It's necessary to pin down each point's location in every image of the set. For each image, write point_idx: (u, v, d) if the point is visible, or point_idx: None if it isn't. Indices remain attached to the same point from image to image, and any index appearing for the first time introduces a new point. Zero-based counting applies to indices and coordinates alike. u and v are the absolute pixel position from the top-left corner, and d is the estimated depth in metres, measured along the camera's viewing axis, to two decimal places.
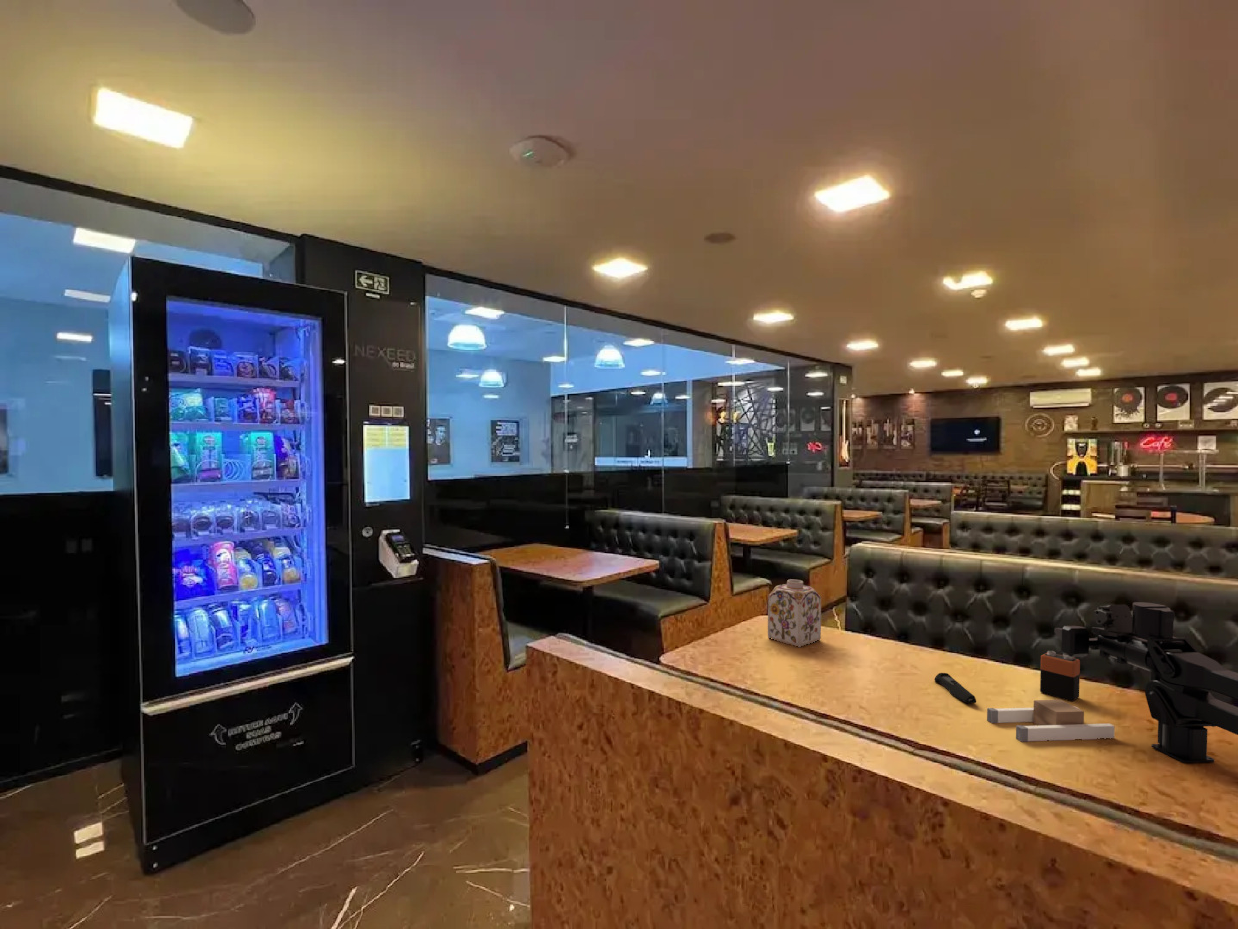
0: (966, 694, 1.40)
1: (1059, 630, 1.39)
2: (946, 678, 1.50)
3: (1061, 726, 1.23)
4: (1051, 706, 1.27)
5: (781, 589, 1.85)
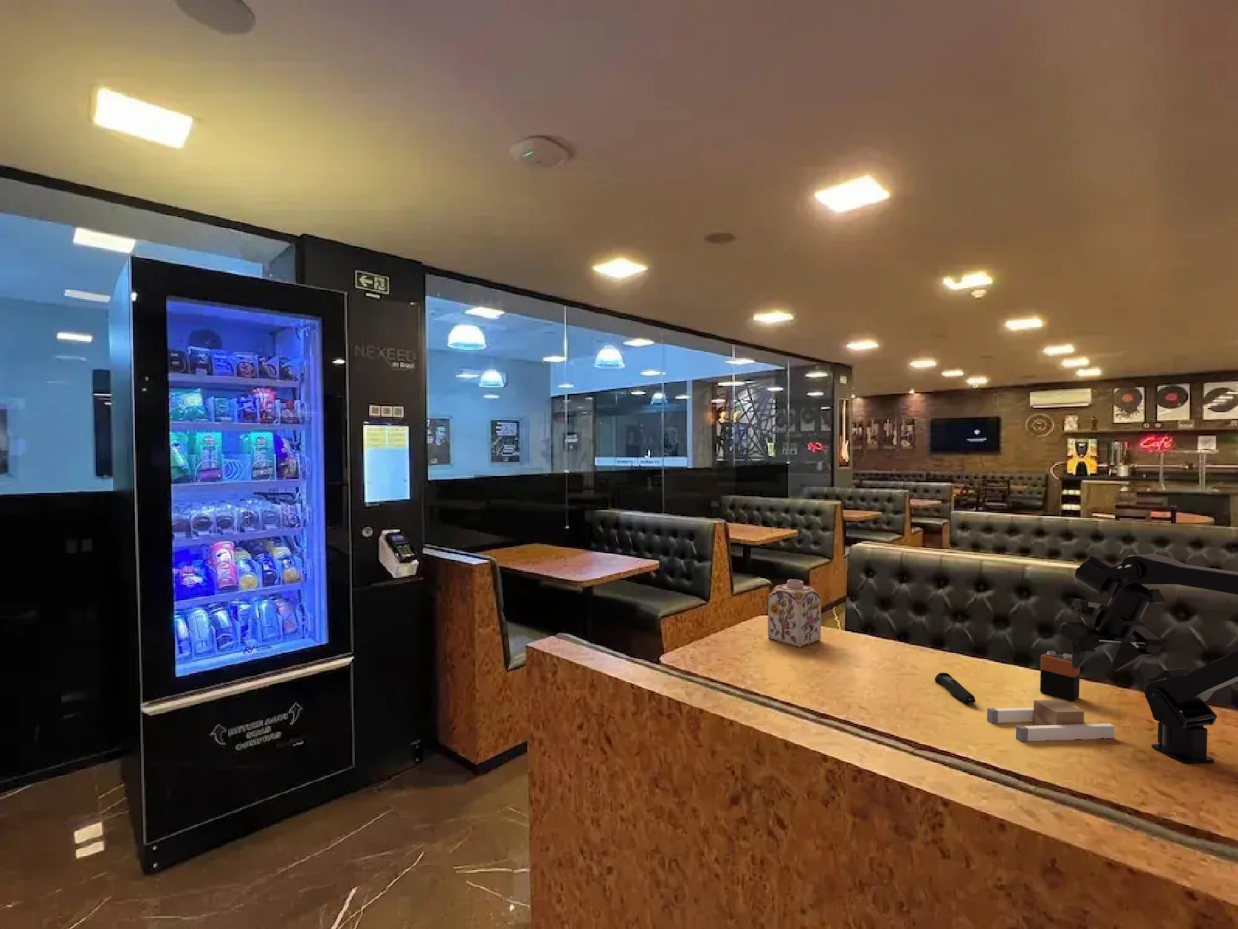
0: (965, 694, 1.40)
1: (1073, 657, 1.32)
2: (946, 678, 1.50)
3: (1061, 726, 1.23)
4: (1051, 706, 1.27)
5: (781, 589, 1.85)
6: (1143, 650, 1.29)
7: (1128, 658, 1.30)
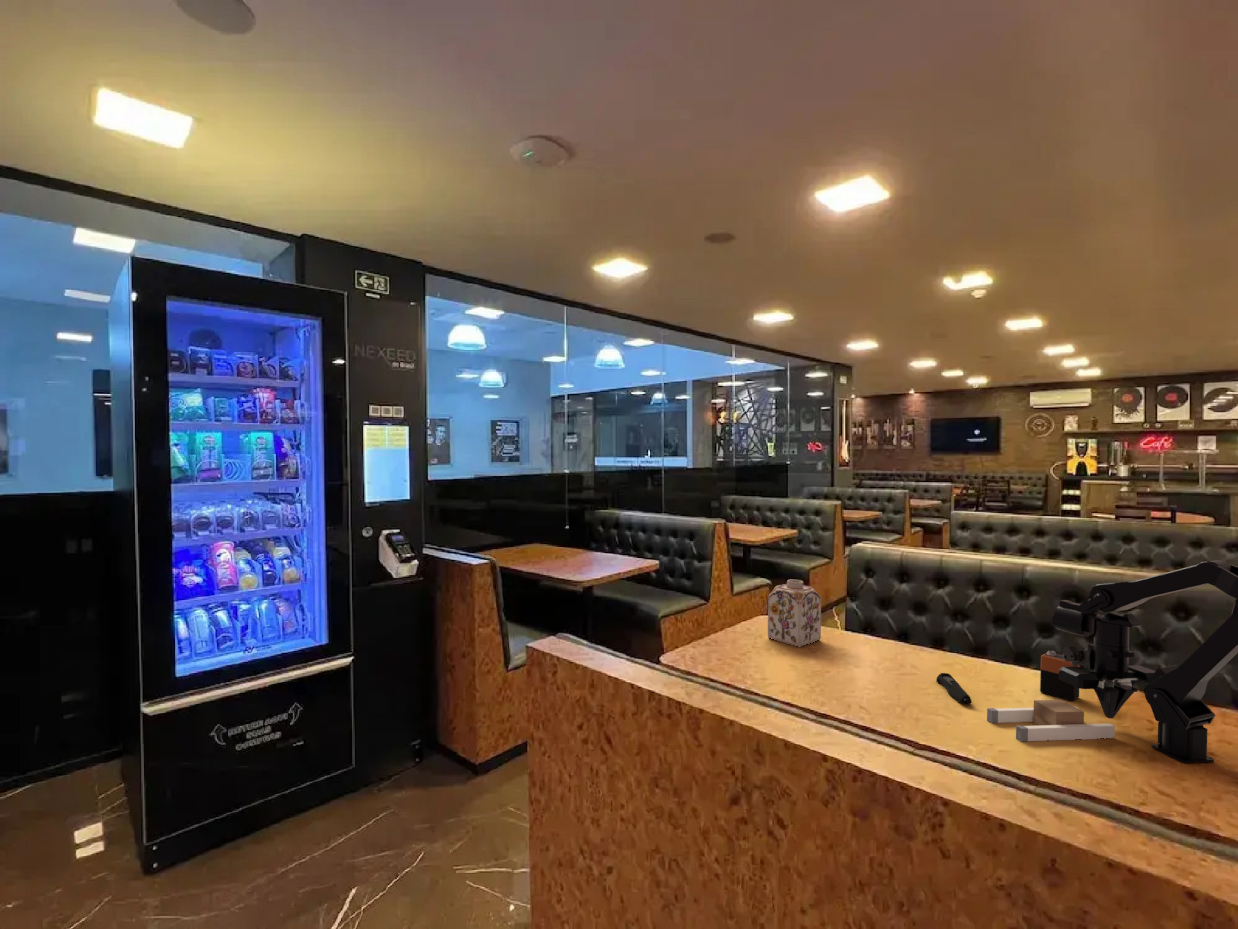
0: (961, 694, 1.40)
1: (1102, 706, 1.29)
2: (946, 678, 1.50)
3: (1061, 726, 1.23)
4: (1051, 706, 1.27)
5: (781, 589, 1.85)
6: (1128, 687, 1.27)
7: (1118, 700, 1.27)
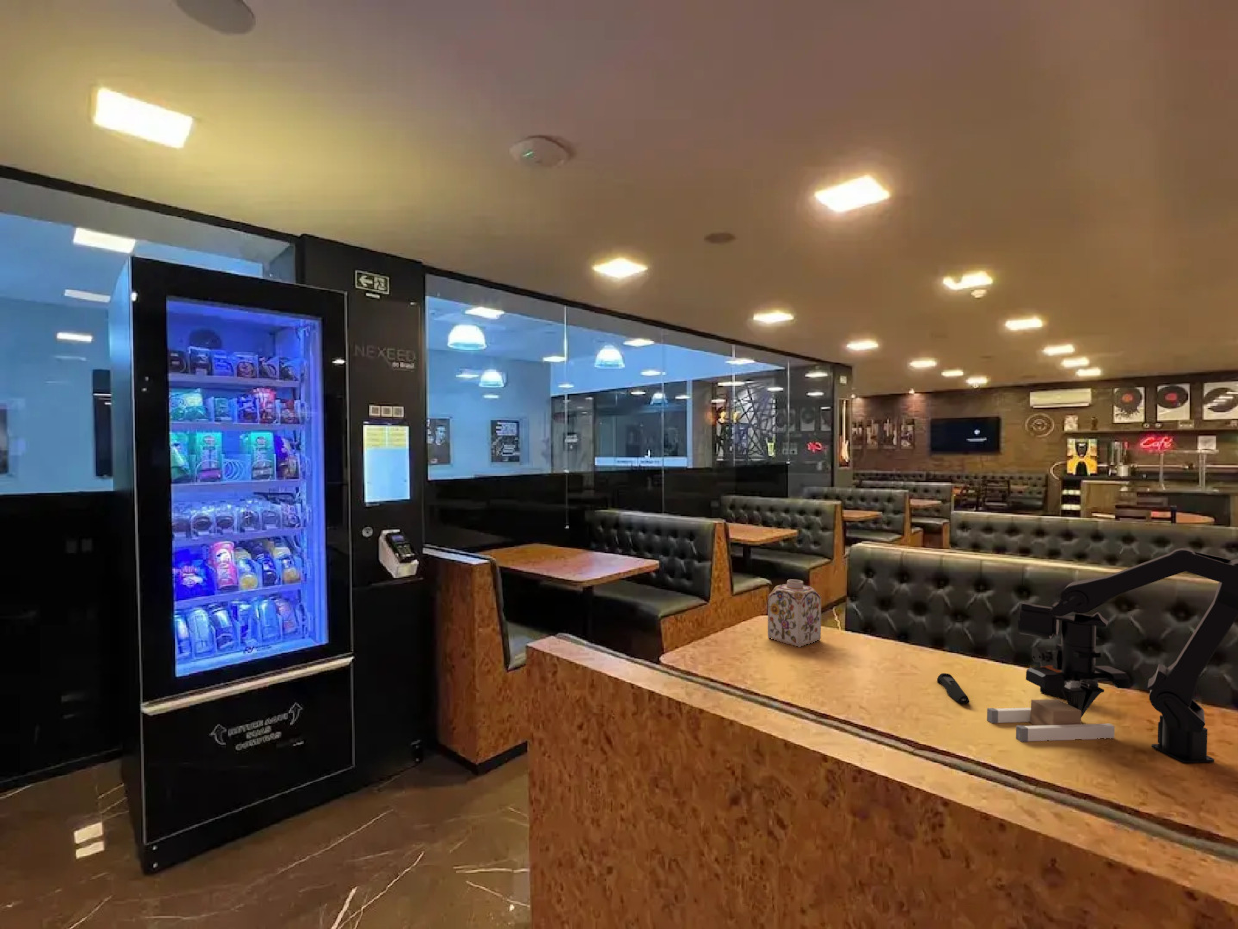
0: (959, 694, 1.40)
1: None
2: (946, 678, 1.50)
3: (1061, 726, 1.23)
4: (1048, 705, 1.27)
5: (781, 589, 1.85)
6: (1094, 688, 1.26)
7: (1084, 700, 1.26)
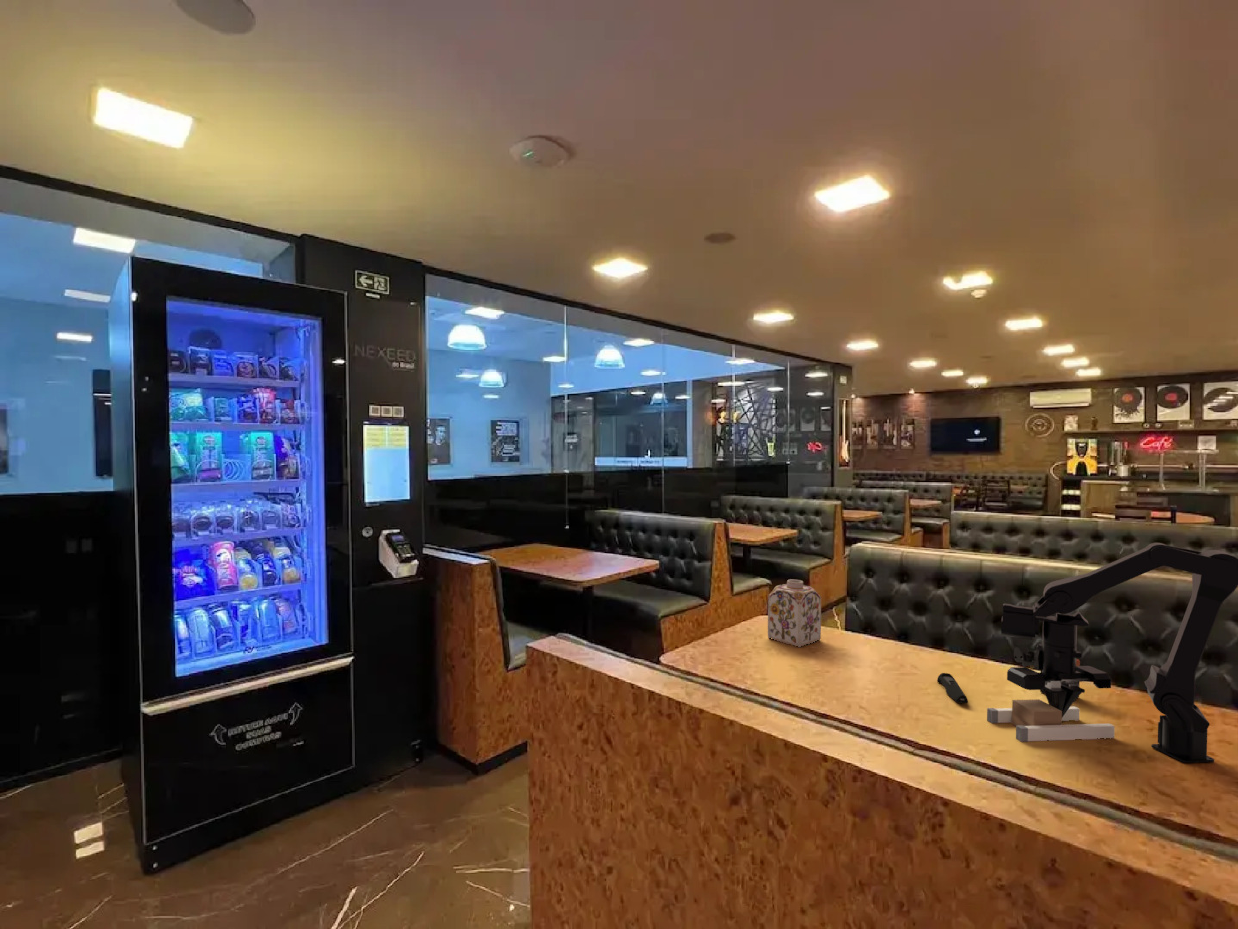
0: (958, 694, 1.40)
1: None
2: (946, 678, 1.50)
3: (1061, 726, 1.23)
4: (1029, 705, 1.27)
5: (781, 589, 1.85)
6: (1075, 688, 1.26)
7: (1065, 700, 1.26)
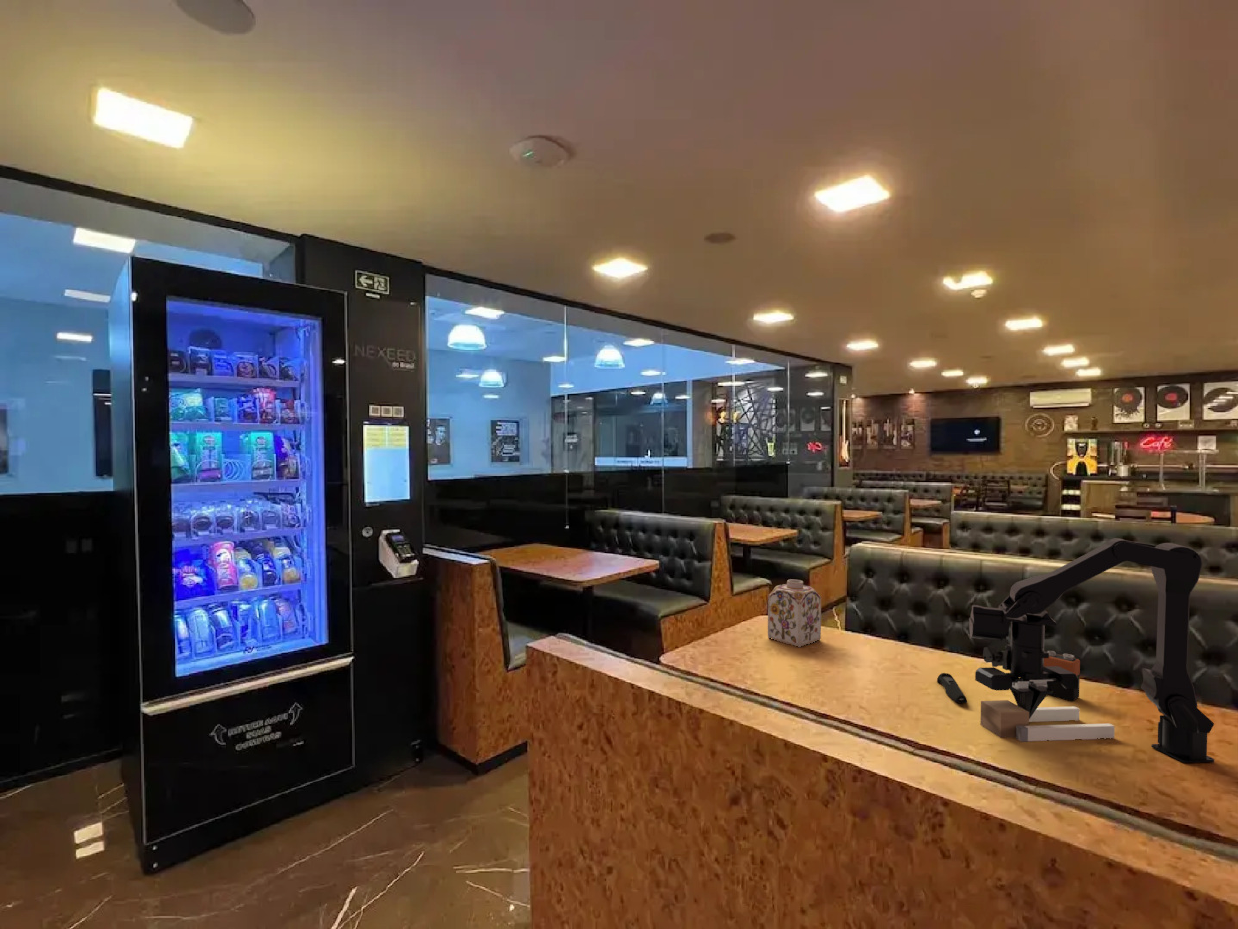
0: (957, 694, 1.40)
1: None
2: (946, 678, 1.50)
3: (1061, 726, 1.23)
4: (997, 706, 1.26)
5: (781, 589, 1.85)
6: (1043, 689, 1.25)
7: (1033, 701, 1.25)
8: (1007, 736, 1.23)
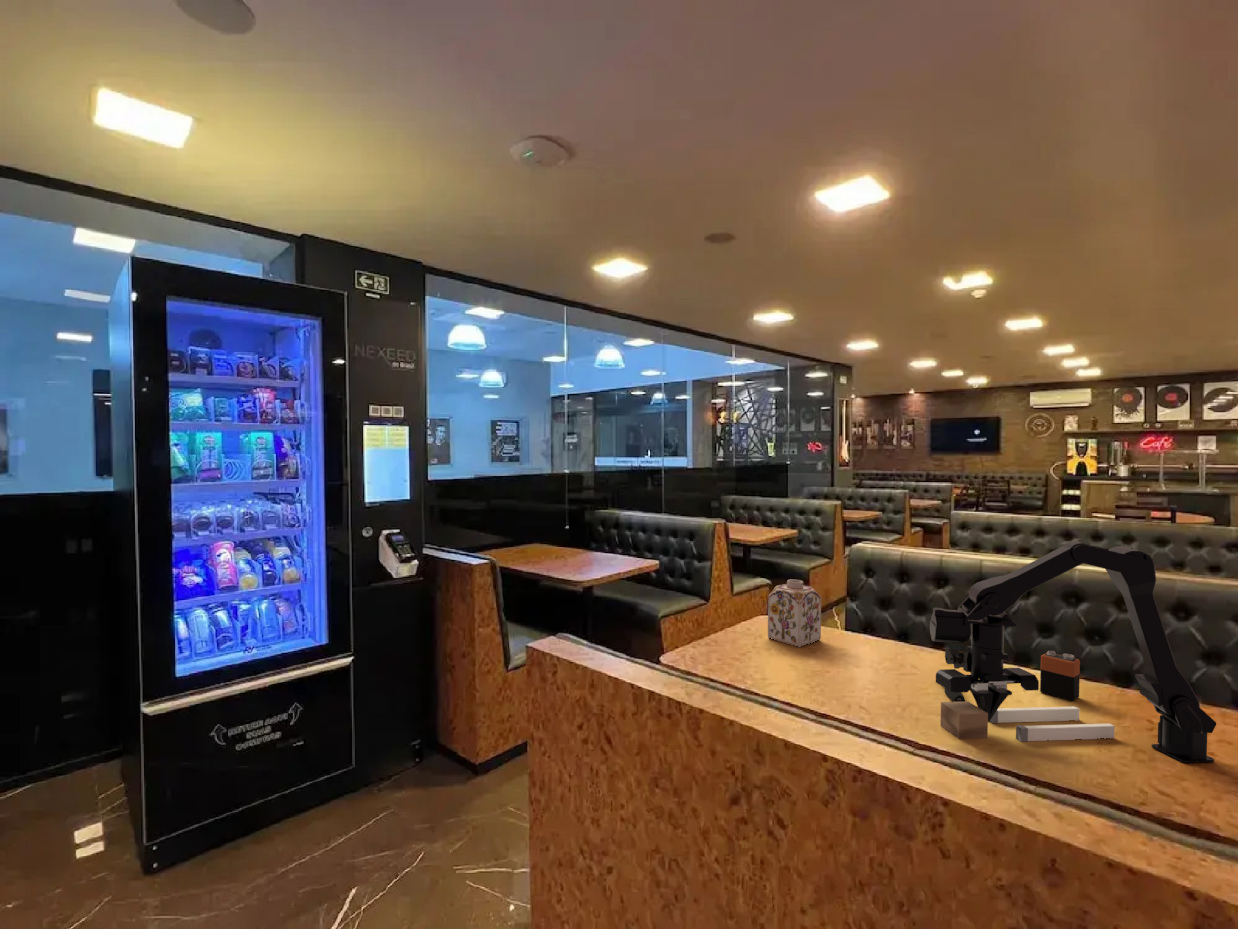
0: (955, 694, 1.40)
1: None
2: None
3: (1061, 726, 1.23)
4: (956, 708, 1.25)
5: (781, 589, 1.85)
6: (1003, 690, 1.24)
7: (993, 703, 1.24)
8: (966, 738, 1.22)
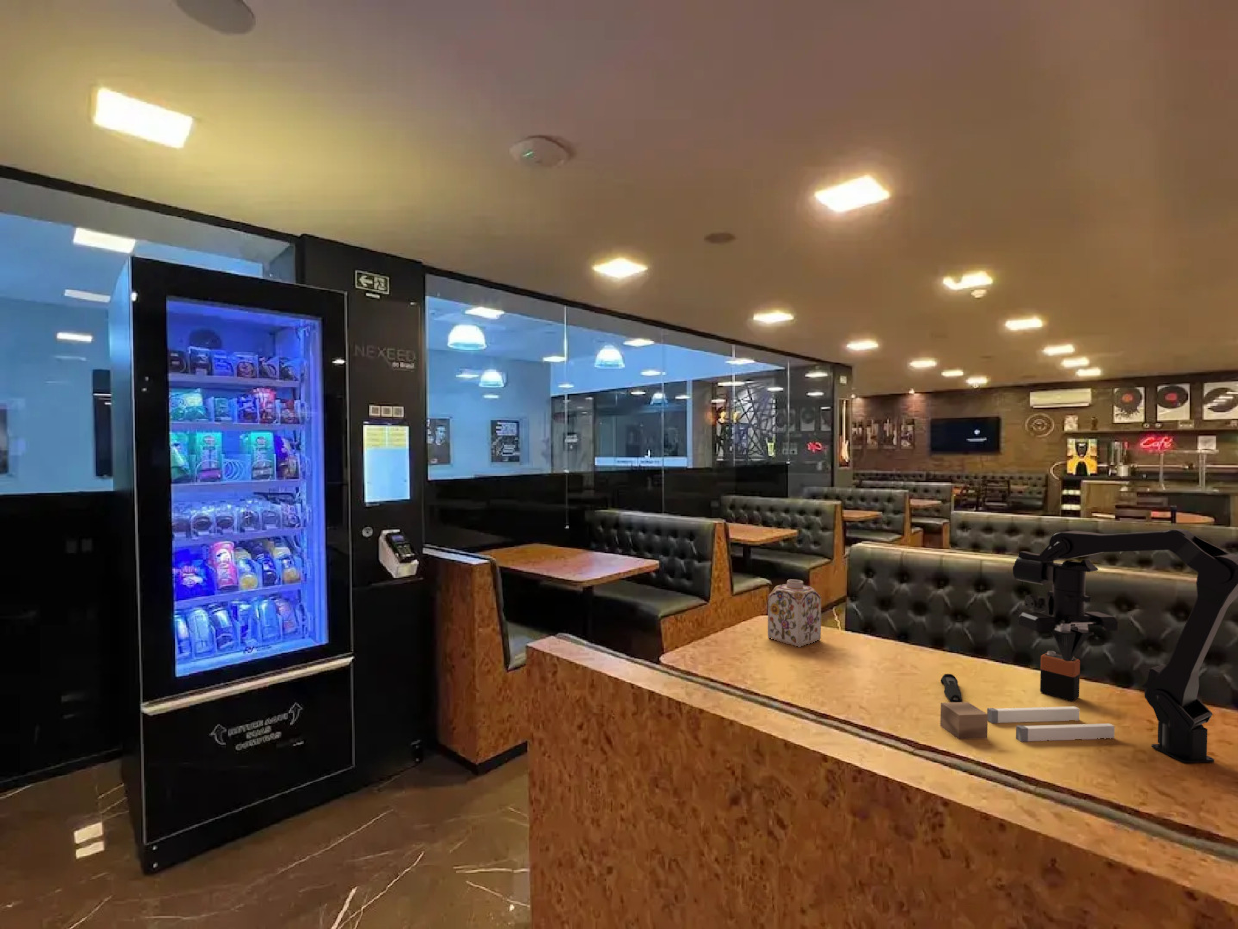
0: (951, 693, 1.40)
1: (1060, 650, 1.34)
2: (948, 679, 1.49)
3: (1061, 726, 1.23)
4: (956, 708, 1.25)
5: (781, 589, 1.85)
6: (1084, 631, 1.32)
7: (1075, 643, 1.32)
8: (965, 738, 1.22)
